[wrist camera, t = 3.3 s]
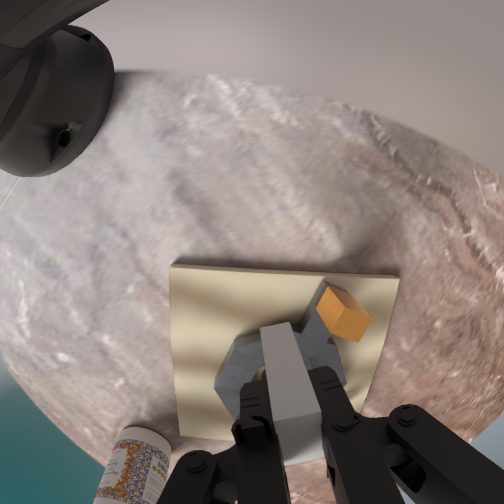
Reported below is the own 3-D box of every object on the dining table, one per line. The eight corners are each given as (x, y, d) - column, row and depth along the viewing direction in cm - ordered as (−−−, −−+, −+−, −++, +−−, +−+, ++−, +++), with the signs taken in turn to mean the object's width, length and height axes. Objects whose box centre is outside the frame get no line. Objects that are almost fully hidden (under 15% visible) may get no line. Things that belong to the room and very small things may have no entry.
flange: (302, 426, 27) (312, 464, 21) (203, 400, 25) (197, 441, 20) (383, 306, 24) (414, 334, 18) (273, 258, 22) (284, 282, 17)
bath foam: (144, 418, 28) (99, 563, 8) (183, 450, 29) (164, 585, 10) (110, 432, 28) (63, 553, 9) (147, 461, 30) (120, 578, 10)
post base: (172, 263, 24) (132, 313, 14) (393, 275, 25) (458, 318, 15) (181, 428, 28) (169, 496, 18) (348, 427, 29) (373, 487, 20)
